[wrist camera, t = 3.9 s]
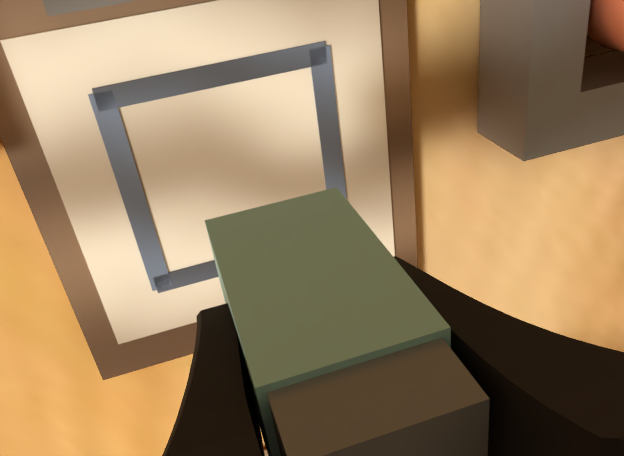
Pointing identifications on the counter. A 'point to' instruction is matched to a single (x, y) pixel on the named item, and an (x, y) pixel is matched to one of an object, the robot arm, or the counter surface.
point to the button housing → (545, 78)
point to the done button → (607, 23)
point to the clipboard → (195, 142)
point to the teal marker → (341, 337)
